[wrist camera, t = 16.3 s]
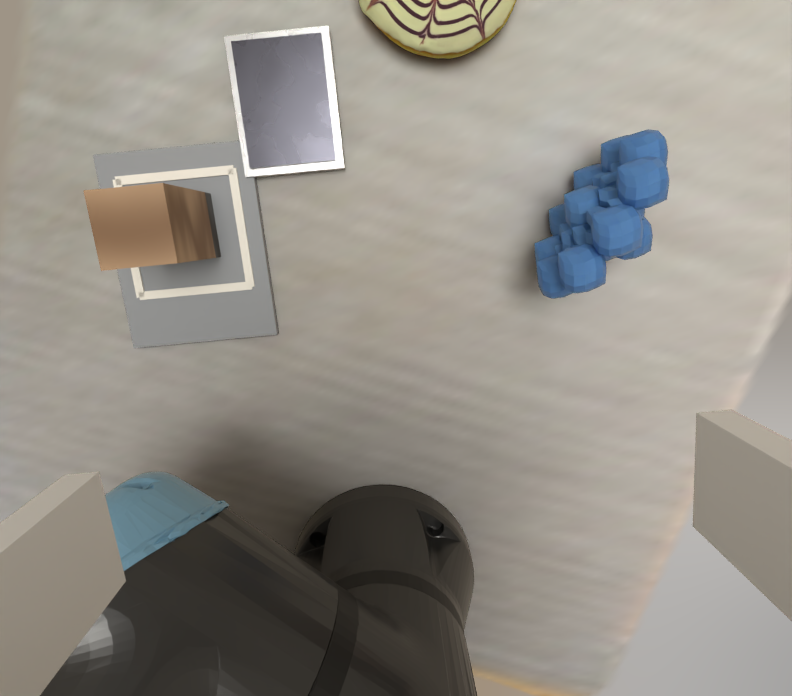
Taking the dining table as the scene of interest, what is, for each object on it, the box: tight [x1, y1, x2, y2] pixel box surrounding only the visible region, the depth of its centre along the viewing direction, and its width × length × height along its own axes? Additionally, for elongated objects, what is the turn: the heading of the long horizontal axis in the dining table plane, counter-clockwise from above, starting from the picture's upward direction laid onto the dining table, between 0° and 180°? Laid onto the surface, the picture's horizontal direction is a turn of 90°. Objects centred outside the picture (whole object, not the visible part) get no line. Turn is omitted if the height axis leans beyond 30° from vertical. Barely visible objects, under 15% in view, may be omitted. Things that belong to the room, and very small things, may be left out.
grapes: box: [535, 130, 669, 298], centre depth 32 cm, size 12×7×12 cm, turn 149°
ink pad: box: [224, 26, 345, 178], centre depth 35 cm, size 9×7×1 cm
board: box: [93, 141, 279, 348], centre depth 38 cm, size 14×11×1 cm
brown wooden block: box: [84, 183, 221, 271], centre depth 33 cm, size 4×4×8 cm
